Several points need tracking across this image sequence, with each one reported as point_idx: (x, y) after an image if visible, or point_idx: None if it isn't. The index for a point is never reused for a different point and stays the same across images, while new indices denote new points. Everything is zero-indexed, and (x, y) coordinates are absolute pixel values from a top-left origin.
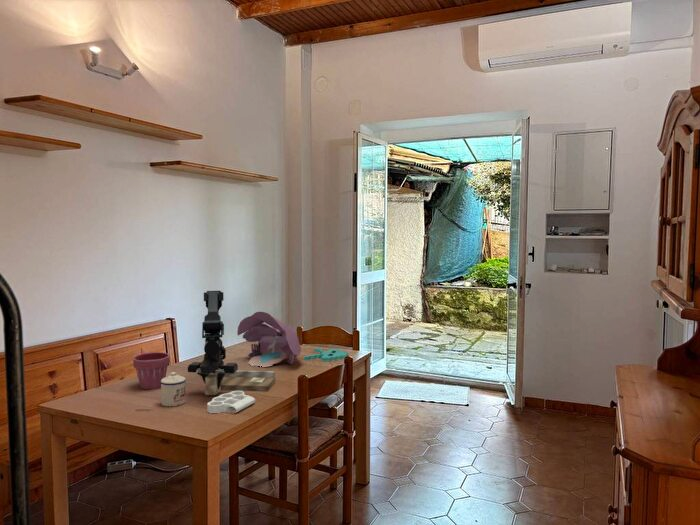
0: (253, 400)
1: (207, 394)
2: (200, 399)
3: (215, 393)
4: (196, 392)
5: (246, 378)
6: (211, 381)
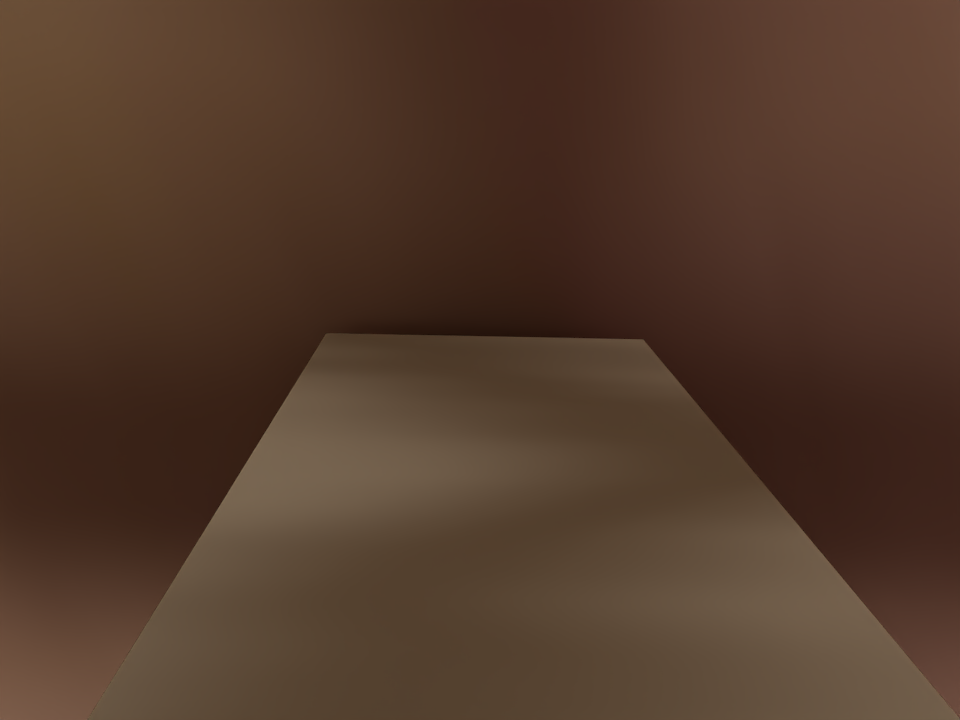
0: None
1: (586, 340)
2: (725, 26)
3: (317, 351)
4: (924, 589)
5: None
6: (441, 704)
